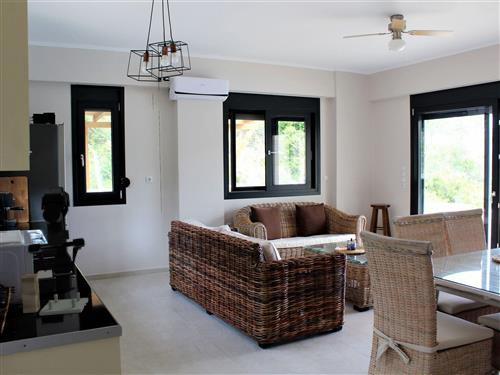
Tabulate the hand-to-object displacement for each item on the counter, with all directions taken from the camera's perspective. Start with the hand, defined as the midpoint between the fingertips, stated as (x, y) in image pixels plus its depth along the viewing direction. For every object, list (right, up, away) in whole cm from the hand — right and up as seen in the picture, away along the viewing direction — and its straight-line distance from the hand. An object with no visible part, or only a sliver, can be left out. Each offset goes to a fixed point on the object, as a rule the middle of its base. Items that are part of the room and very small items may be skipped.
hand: (59, 269), depth 170 cm
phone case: (-30, -14, +58) cm, 67 cm away
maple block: (-12, -16, +5) cm, 20 cm away
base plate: (-1, -15, +7) cm, 17 cm away
